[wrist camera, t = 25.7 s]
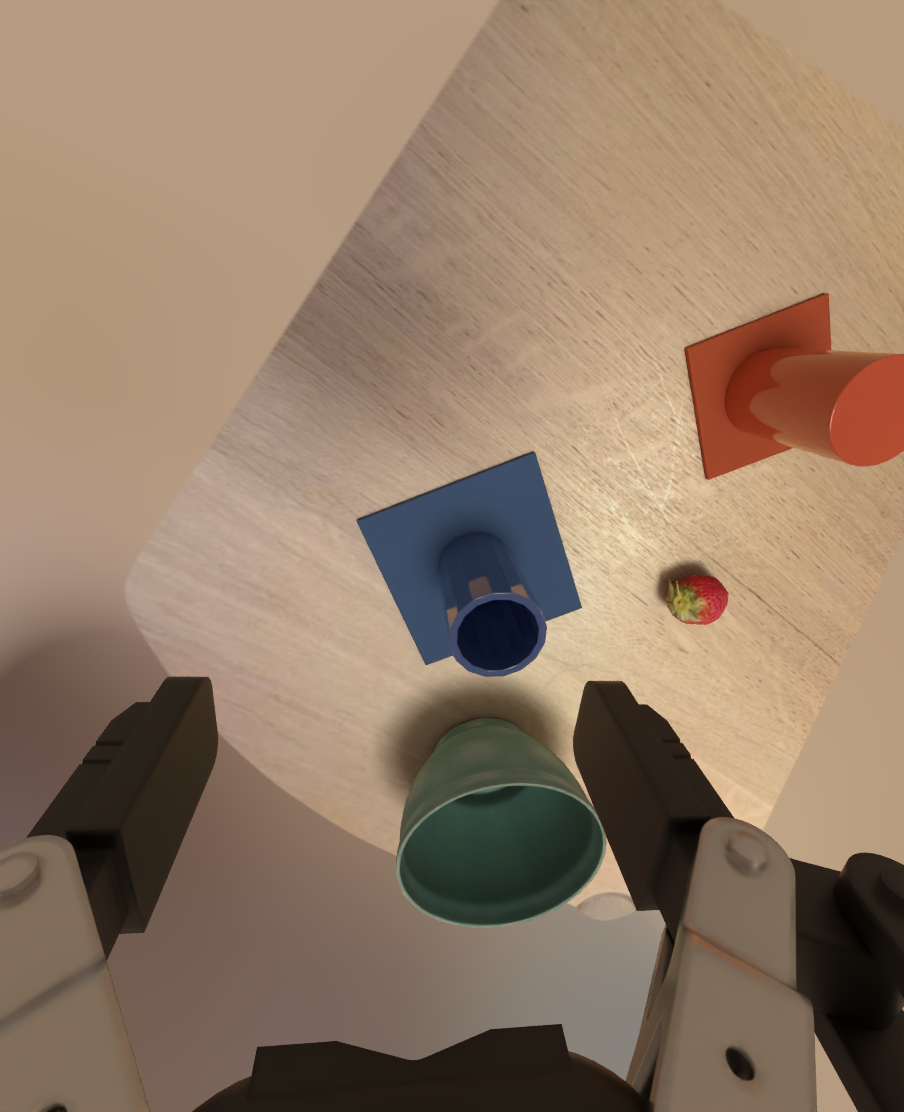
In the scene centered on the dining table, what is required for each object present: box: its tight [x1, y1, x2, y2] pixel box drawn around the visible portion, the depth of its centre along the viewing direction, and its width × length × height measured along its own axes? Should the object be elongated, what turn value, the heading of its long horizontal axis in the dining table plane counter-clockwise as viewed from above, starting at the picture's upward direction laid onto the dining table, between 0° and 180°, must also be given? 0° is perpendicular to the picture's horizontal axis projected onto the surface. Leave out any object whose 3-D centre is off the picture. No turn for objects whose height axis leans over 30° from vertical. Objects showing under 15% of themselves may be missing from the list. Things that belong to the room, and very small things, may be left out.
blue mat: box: [357, 452, 582, 665], centre depth 41 cm, size 14×14×1 cm
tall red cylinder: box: [725, 348, 904, 466], centre depth 33 cm, size 6×6×10 cm
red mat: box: [685, 293, 831, 480], centre depth 38 cm, size 10×10×1 cm
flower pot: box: [396, 718, 606, 928], centre depth 44 cm, size 16×16×11 cm
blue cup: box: [438, 532, 547, 677], centre depth 36 cm, size 6×6×10 cm
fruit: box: [665, 576, 729, 625], centre depth 42 cm, size 4×6×5 cm
